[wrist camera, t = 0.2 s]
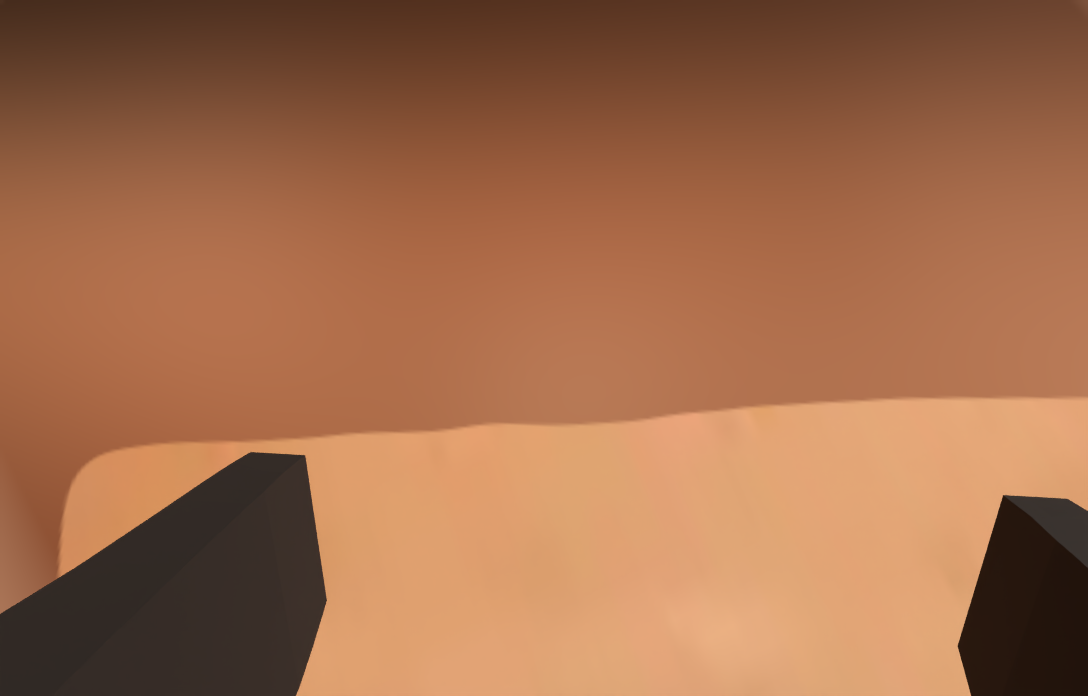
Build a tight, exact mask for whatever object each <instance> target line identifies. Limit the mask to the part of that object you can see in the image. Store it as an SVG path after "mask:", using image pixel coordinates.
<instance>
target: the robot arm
mask: <svg viewBox="0 0 1088 696" xmlns="http://www.w3.org/2000/svg"><path fill="white" fill-rule="evenodd" d="M326 601H327V599H326V592H325V586H324V579H323V572H322V566H321V559H320V552H319V545H318V539H317V532H316V525H315V518H314V512H313V505H312V498H311V491H310V485H309V478H308V471H307V464H306V458H305V455H291V454H273V453H256V452H250V453H248V454H247V455H245V456H243V457H242V458H240V459H238V460H236V461H235V462H233V463H232V464H230V465H228V466H227V467H225V468H224V469H222V470H221V471H219V472H218V473H216V474H214V475H213V476H211V477H210V478H208V479H207V480H205V481H204V482H202V483H201V484H199V485H198V486H196V487H195V488H193V489H192V490H191V491H189V492H188V493H186V494H185V495H183V496H182V497H180V498H179V499H177V500H176V501H174V502H173V503H171V504H170V505H168V506H167V507H165V508H164V509H163V510H161V511H160V512H158V513H157V514H155V515H154V516H152V517H151V518H149V519H148V520H146V521H145V522H143V523H142V524H140V525H139V526H137V527H136V528H134V529H133V530H131V531H130V532H128V533H127V534H125V535H124V536H122V537H121V538H119V539H118V540H116V541H115V542H113V543H112V544H110V545H109V546H107V547H106V548H104V549H103V550H101V551H100V552H98V553H97V554H95V555H94V556H92V557H91V558H89V559H88V560H86V561H85V562H83V563H82V564H80V565H79V566H77V567H76V568H74V569H72V570H71V571H69V572H67V573H66V574H64V575H63V576H61V577H59V578H58V579H56V580H55V581H53V582H51V583H50V584H48V585H46V586H45V587H43V588H42V589H40V590H38V591H37V592H35V593H33V594H32V595H30V596H29V597H27V598H25V599H24V600H22V601H21V602H19V603H17V604H16V605H14V606H12V607H11V608H9V609H8V610H6V611H4V612H3V613H1V614H0V696H296V694H297V691H298V689H299V687H300V684H301V681H302V678H303V675H304V672H305V669H306V666H307V663H308V660H309V657H310V654H311V651H312V648H313V644H314V641H315V638H316V634H317V631H318V628H319V625H320V621H321V618H322V615H323V611H324V608H325V605H326ZM958 649H959V652H960V656H961V660H962V663H963V667H964V671H965V674H966V678H967V682H968V685H969V689H970V693H971V696H1088V511H1087V510H1085V509H1083V508H1082V507H1080V506H1078V505H1077V504H1075V503H1073V502H1072V501H1070V500H1068V499H1061V498H1043V497H1026V496H1008V495H1003V498H1002V501H1001V504H1000V508H999V511H998V514H997V518H996V521H995V524H994V528H993V531H992V534H991V537H990V541H989V544H988V547H987V551H986V554H985V557H984V561H983V564H982V567H981V571H980V574H979V577H978V581H977V584H976V587H975V590H974V594H973V597H972V600H971V604H970V607H969V610H968V614H967V617H966V620H965V624H964V627H963V630H962V633H961V637H960V640H959V643H958Z"/></svg>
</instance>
